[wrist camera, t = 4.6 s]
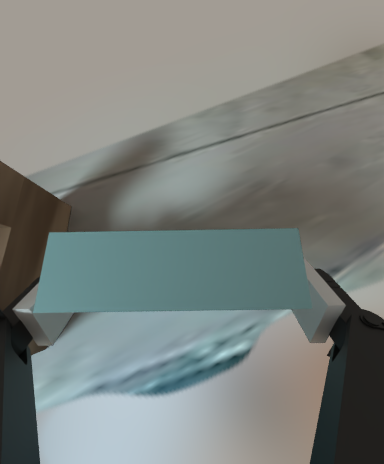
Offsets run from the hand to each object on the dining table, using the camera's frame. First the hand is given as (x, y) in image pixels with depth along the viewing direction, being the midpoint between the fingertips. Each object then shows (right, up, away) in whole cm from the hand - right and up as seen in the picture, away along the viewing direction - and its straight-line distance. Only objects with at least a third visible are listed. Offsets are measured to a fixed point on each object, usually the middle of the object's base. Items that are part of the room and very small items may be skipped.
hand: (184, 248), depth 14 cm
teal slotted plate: (0, -3, +4) cm, 5 cm away
